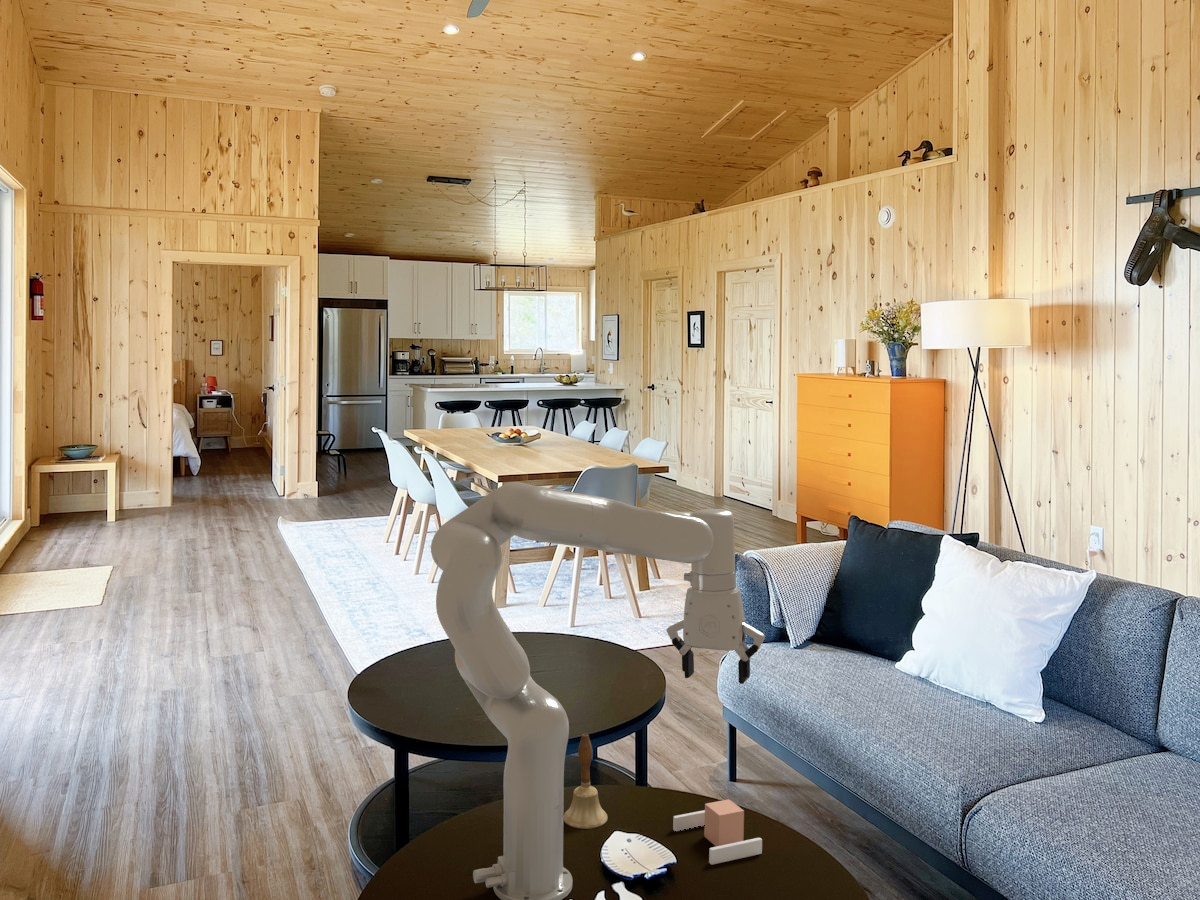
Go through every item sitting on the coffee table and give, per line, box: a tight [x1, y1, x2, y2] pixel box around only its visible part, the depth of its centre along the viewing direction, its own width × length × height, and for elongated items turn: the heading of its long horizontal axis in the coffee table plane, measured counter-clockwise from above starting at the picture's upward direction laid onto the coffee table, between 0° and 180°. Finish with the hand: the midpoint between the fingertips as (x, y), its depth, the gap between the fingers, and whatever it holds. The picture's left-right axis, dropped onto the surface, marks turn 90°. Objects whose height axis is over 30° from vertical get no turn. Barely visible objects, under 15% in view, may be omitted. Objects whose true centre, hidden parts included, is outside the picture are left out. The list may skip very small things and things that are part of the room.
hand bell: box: [563, 733, 609, 830], centre depth 170 cm, size 8×8×16 cm
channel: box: [672, 809, 763, 866], centre depth 162 cm, size 10×14×2 cm
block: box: [703, 798, 745, 847], centre depth 163 cm, size 5×5×6 cm
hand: (715, 678), depth 159 cm, fingers open, 9 cm apart
